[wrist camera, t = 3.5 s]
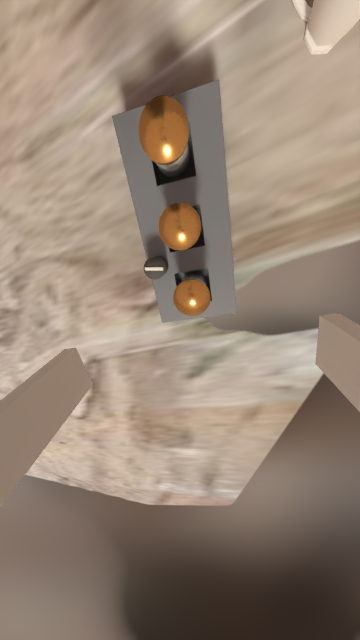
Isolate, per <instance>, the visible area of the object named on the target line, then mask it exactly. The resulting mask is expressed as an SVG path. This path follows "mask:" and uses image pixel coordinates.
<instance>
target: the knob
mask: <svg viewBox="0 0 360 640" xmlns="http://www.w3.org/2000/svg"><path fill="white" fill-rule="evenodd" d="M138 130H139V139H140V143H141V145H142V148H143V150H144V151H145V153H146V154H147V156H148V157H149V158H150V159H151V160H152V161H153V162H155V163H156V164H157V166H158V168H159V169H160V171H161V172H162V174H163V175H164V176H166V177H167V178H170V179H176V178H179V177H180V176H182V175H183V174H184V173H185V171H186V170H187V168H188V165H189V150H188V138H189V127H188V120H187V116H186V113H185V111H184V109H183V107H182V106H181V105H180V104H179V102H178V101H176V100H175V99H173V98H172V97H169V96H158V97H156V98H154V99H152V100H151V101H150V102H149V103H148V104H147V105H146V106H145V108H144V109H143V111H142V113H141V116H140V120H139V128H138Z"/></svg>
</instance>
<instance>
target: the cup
mask: <svg viewBox="0 0 360 640" xmlns="http://www.w3.org/2000/svg"><path fill="white" fill-rule="evenodd" d="M292 1H293V4H294V6H295V9H296V10H297V12H298V13H299V15H300V17H301V18H302V19H303V20H305V21H306V22H307V25H306V30H305V35H304V41H305V43H306V45H307V47H308V49H309V51H310V53H311V55H312V54H327V53H328V52H329V51H330V49H331V48H332V47H333V46H334V45H335V44H336V43H337V42H338V41H339V40H340V39H341V38H342V37H343V36H344V35H345V34H346V33H347V32H348V31H349V30H350V29H351V28H352V27H353V26H354V25H355V24H356V23H357V21H358V20H359V19H360V0H314V2H313V7H312V8H311V7H310V6H308V5H307V3H306V1H305V0H292Z"/></svg>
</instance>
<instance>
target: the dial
mask: <svg viewBox="0 0 360 640" xmlns="http://www.w3.org/2000/svg"><path fill="white" fill-rule="evenodd" d="M167 270H168V262H167V260H166V259H165V258H164V257H162V256H155V257H152V258H150V259H148V260H147V261H146V262H145V264H144V272H145V274H146V275H147V276H148V277H149V278H151V279H159V278H161V277H162V276H163V275H164V274H165V273H166V272H167Z"/></svg>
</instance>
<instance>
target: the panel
mask: <svg viewBox="0 0 360 640" xmlns="http://www.w3.org/2000/svg"><path fill="white" fill-rule="evenodd" d="M169 97H172V98H173V99H175V100H176V101H178V102H179V104H180V105H181V106H182V107H183V109H184V111H185V113H186V116H187V120H188V127H189V138H188V150H189V165H188V168H187V170H186V171H185V173H184V174H183V175H182V176H180V177H179V178H176V179H170V178H167V177H166V176H164V175H163V174H162V172H161V171H160V169H159V168H158V166H157V164H156V163H155V162H153V161H152V160H151V159H150V158H149V157H148V156H147V154H146V153H145V151H144V150H143V148H142V145H141V143H140V139H139V130H138V128H139V120H140V116H141V113H142V111H143V109H144V108H145V106H146V105H147V104H146V105H143V106H140V107H137V108H134V109H131V110H128V111H126V112H123V113H120V114H117V115H114V116H112V118H113V122H114V126H115V130H116V134H117V138H118V143H119V147H120V151H121V155H122V159H123V163H124V167H125V171H126V175H127V179H128V184H129V188H130V192H131V196H132V200H133V204H134V208H135V212H136V216H137V220H138V224H139V229H140V233H141V237H142V241H143V245H144V249H145V253H146V257H147V260H148V259H150V258H152V257H155V256H162V257H164V258H165V259H166V260H167V262H168V270H167V272H166V273H165V274H164V275H163V276H162V277H161V278H159V279H152V282H153V286H154V290H155V294H156V298H157V302H158V306H159V310H160V315H161V319H162V323H163V322H171V321H178V320H186V319H194V318H201V317H209V316H216V315H223V314H232V313H237V310H236V297H235V283H234V270H233V257H232V244H231V231H230V218H229V205H228V191H227V178H226V165H225V152H224V139H223V126H222V112H221V99H220V86H219V80H216V81H213V82H210V83H207V84H204V85H202V86H199V87H196V88H193V89H190V90H187V91H184V92H181V93H178V94H175V95H172V96H169ZM174 203H186V204H188V205H190V206H192V207H193V208H194V209H195V210H196V211H197V213H198V215H199V217H200V220H201V233H200V236H199V238H198V240H197V242H196V243H195V244H194V245H193V246H192V247H190V248H188V249H186V250H174V249H171V248H169V247H168V246H167V245H166V244H165V243H164V242H163V241H162V239H161V237H160V234H159V219H160V217H161V214H162V213H163V211H164V210H165V209H166V208H167V207H168V206H170V205H172V204H174ZM191 273H197V274H200V275H201V276H203V277H204V279H205V280H206V283H207V287H208V289H209V291H210V296H211V300H210V304H209V306H208V308H207V309H206V310H205V311H204V312H203V313H202V314H200V315H196V316H188V315H185V314H182V313H181V312H180V311H179V310H178V309H177V308H176V306H175V304H174V301H173V295H174V292H175V289H176V288H177V286H178V285H179V284H180V283H181V282H182V280H183V278H184V277H185V276H186V275H188V274H191Z"/></svg>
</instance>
